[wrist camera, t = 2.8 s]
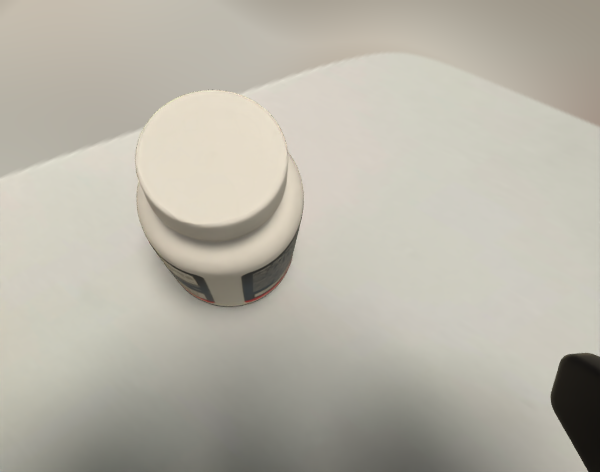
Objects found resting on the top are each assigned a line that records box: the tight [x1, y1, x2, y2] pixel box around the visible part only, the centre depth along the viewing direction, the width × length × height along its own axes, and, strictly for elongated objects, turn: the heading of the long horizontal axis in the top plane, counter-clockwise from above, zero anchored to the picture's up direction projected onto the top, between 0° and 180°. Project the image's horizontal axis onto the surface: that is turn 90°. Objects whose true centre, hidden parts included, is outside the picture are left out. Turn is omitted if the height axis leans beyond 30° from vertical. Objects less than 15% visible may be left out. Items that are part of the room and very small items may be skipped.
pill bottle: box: [135, 90, 304, 306], centre depth 17 cm, size 5×5×9 cm
